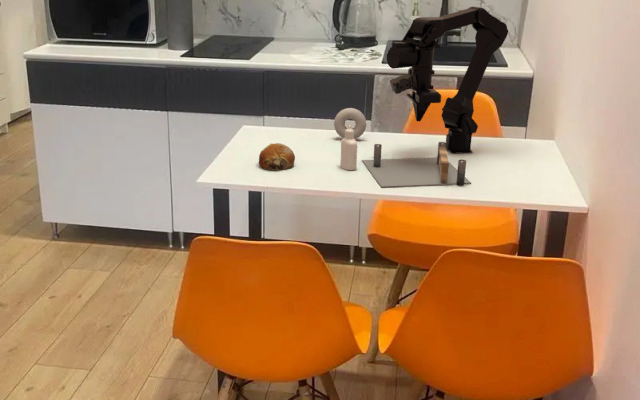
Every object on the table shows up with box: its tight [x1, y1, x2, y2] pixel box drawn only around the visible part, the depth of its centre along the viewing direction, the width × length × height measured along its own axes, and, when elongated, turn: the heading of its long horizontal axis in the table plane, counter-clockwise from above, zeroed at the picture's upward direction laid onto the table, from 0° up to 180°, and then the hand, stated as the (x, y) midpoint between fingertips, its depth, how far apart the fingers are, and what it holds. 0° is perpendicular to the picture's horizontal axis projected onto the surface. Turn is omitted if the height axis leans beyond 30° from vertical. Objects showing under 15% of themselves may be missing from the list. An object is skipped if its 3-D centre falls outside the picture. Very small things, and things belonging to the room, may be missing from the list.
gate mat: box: [361, 156, 472, 189], centre depth 194 cm, size 24×22×1 cm
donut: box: [333, 107, 367, 140], centre depth 221 cm, size 10×4×10 cm, turn 84°
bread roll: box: [258, 142, 296, 172], centre depth 197 cm, size 10×10×8 cm
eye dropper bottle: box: [340, 124, 358, 171], centre depth 195 cm, size 4×6×12 cm
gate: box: [439, 147, 450, 182], centre depth 190 cm, size 15×2×5 cm, turn 174°
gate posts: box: [373, 141, 467, 187], centre depth 190 cm, size 20×18×6 cm
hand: (418, 121), depth 202 cm, fingers closed
